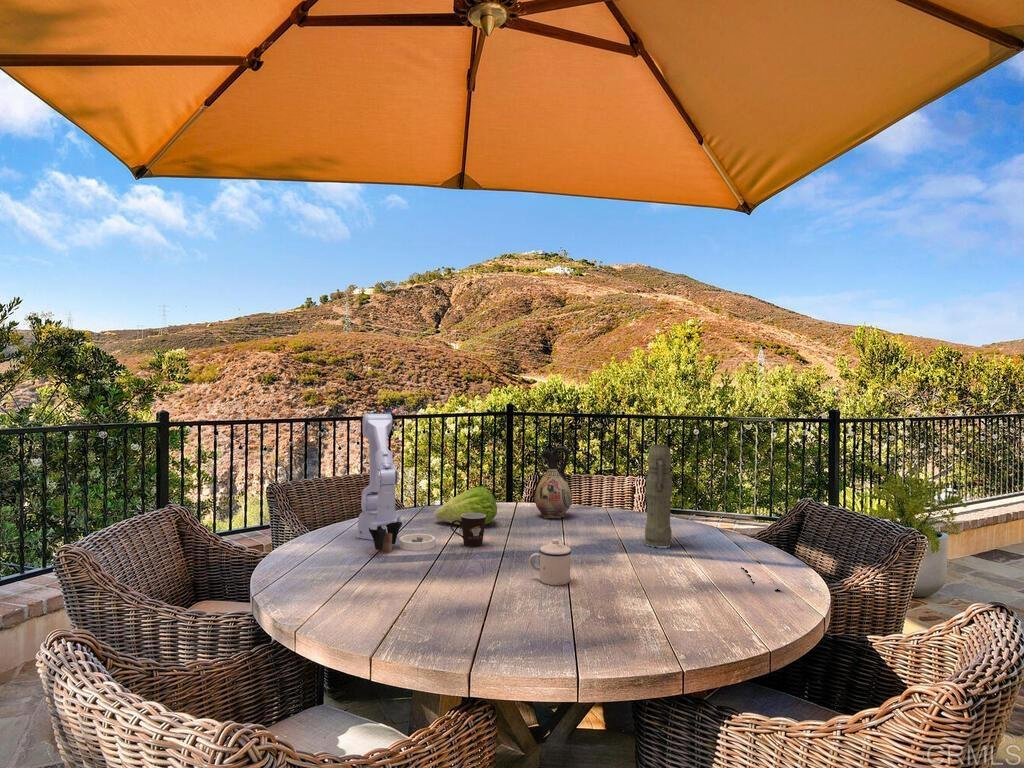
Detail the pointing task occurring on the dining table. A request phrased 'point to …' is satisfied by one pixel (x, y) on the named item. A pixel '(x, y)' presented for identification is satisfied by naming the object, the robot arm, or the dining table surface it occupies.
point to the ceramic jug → (553, 486)
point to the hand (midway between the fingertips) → (385, 546)
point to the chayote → (468, 505)
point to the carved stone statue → (658, 496)
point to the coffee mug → (472, 529)
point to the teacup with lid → (553, 563)
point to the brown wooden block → (387, 543)
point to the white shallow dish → (417, 542)
